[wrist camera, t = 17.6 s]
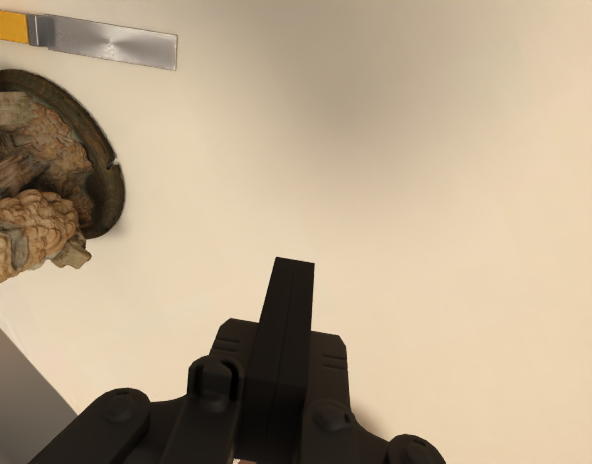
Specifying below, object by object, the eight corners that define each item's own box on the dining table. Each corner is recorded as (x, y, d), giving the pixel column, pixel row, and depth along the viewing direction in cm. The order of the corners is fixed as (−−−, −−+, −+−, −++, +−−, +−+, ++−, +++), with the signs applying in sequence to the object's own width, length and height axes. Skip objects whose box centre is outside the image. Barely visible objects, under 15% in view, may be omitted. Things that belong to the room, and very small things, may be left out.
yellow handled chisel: (-49, 33, 37) (-67, 32, 35) (-54, -3, 36) (-73, -6, 34) (176, 70, 37) (168, 70, 35) (177, 35, 36) (170, 34, 34)
